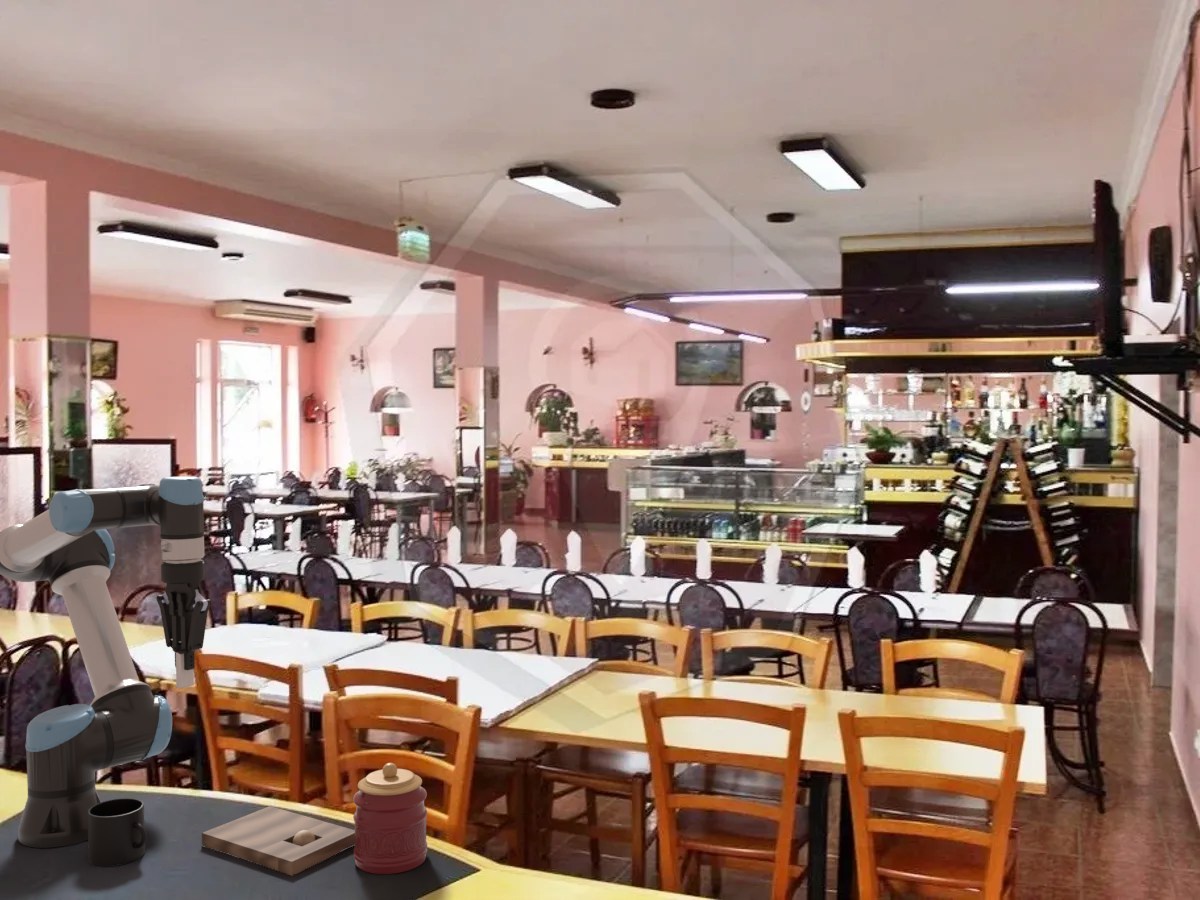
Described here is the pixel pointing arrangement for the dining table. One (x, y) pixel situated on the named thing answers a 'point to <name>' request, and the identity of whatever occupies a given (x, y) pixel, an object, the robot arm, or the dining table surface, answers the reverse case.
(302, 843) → the ball
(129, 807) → the mug
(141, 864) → the dining table surface
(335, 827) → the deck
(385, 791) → the canister
